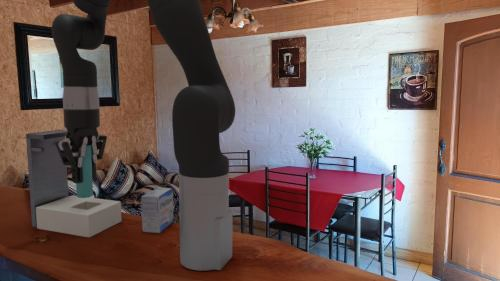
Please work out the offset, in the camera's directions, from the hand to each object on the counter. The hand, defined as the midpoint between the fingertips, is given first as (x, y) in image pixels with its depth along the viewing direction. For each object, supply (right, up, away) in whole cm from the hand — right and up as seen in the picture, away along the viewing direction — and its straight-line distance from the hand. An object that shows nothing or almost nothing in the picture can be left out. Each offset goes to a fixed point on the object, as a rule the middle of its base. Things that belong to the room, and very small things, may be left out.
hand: (84, 180), depth 88 cm
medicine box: (+17, -12, +2) cm, 20 cm away
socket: (-2, -11, +2) cm, 11 cm away
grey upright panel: (-9, -10, +4) cm, 14 cm away
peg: (0, -4, +1) cm, 4 cm away
